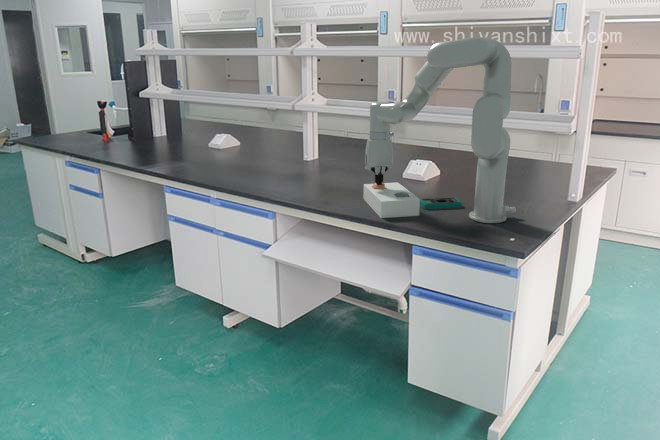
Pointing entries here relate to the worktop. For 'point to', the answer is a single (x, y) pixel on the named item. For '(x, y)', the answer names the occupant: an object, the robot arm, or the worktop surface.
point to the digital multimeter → (440, 203)
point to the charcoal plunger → (401, 194)
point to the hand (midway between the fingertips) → (378, 184)
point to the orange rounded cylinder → (378, 186)
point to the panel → (391, 201)
